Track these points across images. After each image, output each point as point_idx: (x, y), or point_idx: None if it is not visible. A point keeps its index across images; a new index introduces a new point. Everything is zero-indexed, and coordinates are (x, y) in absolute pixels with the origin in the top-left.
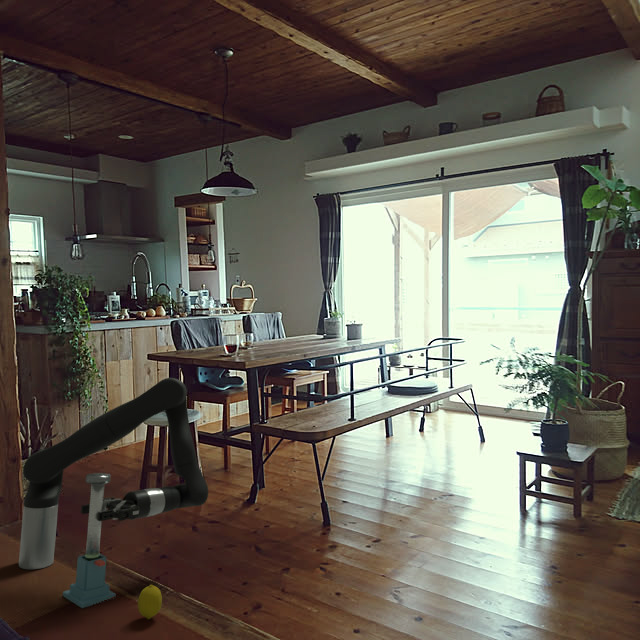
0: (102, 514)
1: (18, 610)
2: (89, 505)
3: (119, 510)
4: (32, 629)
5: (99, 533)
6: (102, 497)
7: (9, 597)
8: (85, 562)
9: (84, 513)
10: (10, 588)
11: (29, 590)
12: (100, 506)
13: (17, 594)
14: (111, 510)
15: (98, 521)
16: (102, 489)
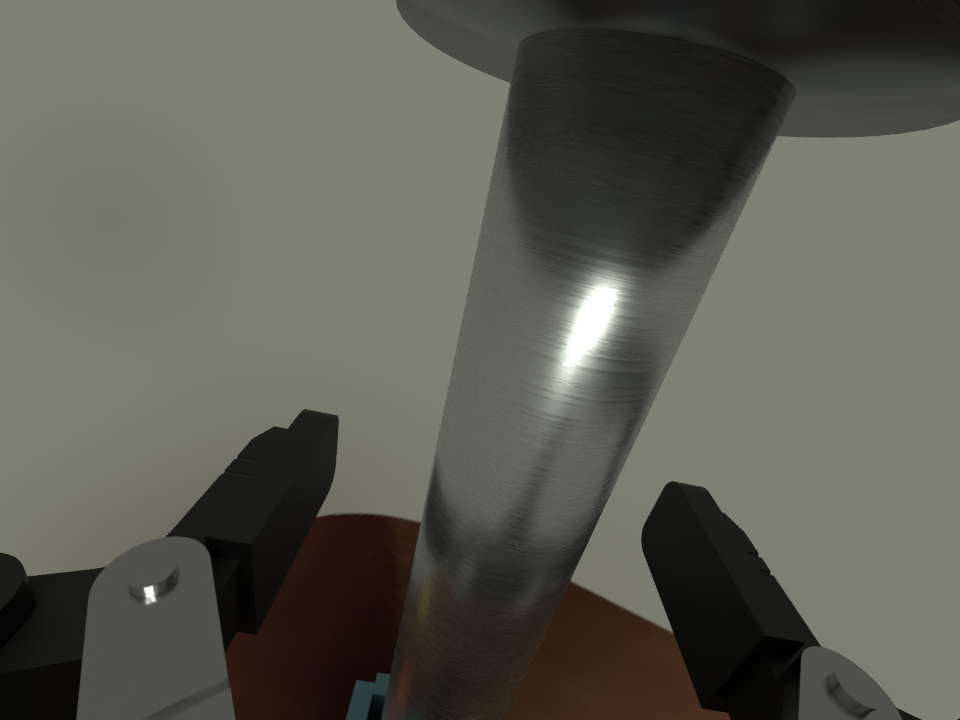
0: (270, 430)
1: None
2: (706, 549)
3: (4, 586)
4: (345, 526)
5: (394, 700)
6: (467, 371)
7: (599, 605)
8: (381, 675)
9: (647, 558)
10: (679, 650)
11: (632, 687)
12: (436, 466)
13: (612, 635)
14: (215, 525)
15: (408, 588)
16: (493, 216)
